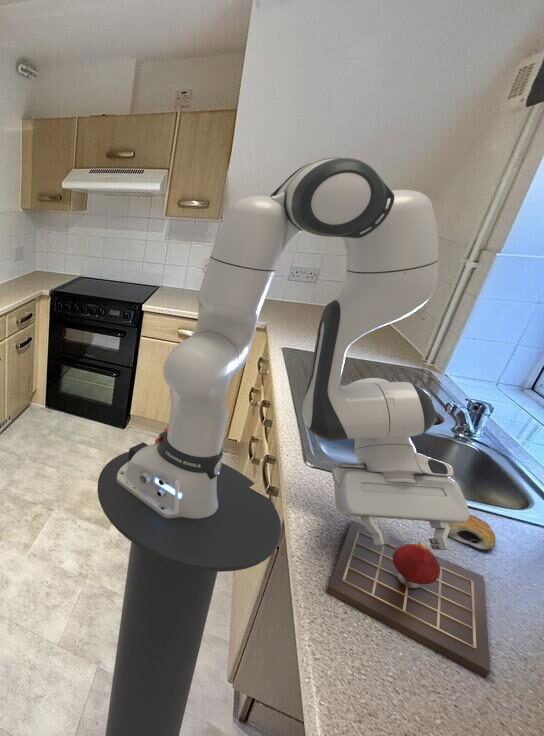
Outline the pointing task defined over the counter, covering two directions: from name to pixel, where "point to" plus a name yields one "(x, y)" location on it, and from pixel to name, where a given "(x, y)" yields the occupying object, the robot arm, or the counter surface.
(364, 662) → the counter surface
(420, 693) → the counter surface
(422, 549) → the onion
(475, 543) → the pastry
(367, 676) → the counter surface
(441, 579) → the grid board
